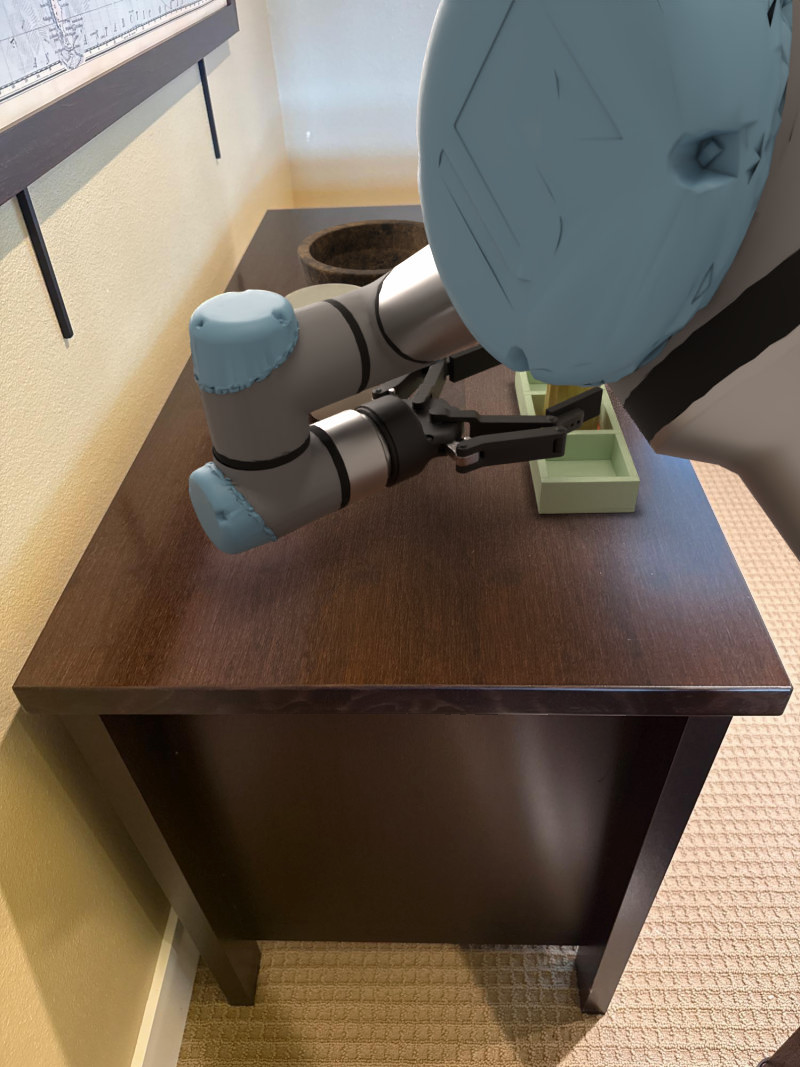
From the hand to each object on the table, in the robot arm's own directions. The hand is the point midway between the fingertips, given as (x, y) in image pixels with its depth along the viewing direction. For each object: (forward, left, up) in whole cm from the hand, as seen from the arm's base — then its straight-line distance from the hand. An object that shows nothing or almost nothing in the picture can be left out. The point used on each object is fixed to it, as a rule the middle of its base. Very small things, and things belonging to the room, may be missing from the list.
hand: (546, 374), depth 76 cm
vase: (0, -4, -9) cm, 10 cm away
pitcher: (+23, +11, -10) cm, 27 cm away
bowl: (+41, -8, -10) cm, 43 cm away
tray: (0, -4, -10) cm, 11 cm away
